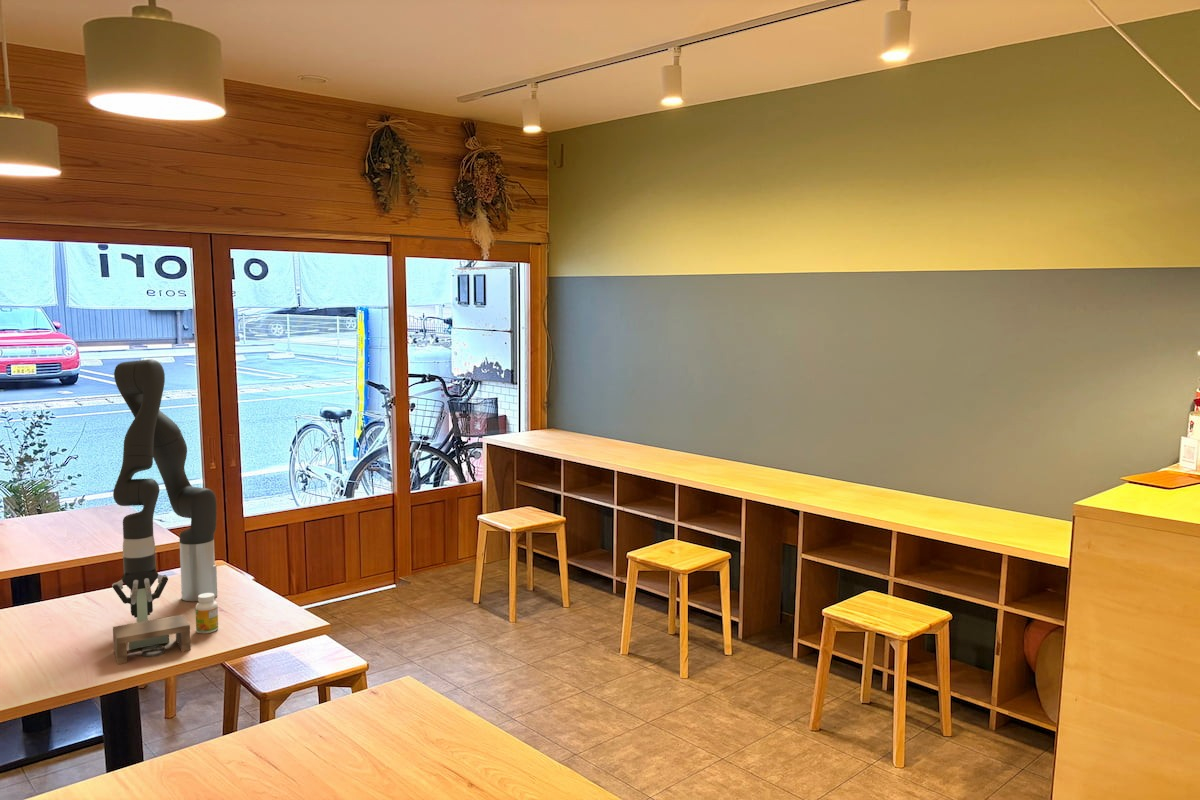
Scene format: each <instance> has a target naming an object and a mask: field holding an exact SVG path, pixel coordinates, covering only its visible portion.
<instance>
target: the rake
mask: <svg viewBox="0 0 1200 800" xmlns="http://www.w3.org/2000/svg"><path fill="white" fill-rule="evenodd" d="M136 603H137V617H136V623H138V622H143V621H149V618H148V617H149V615H148V613H147V595H146V590H145V588H143V589H137V597H136ZM167 643H170V635H165V636H159V637H154V638H149V639H143V640H138V641H133V642H128V650H135V649H141V648H146V647H150V646H157V645H162V644H167Z"/></svg>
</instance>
